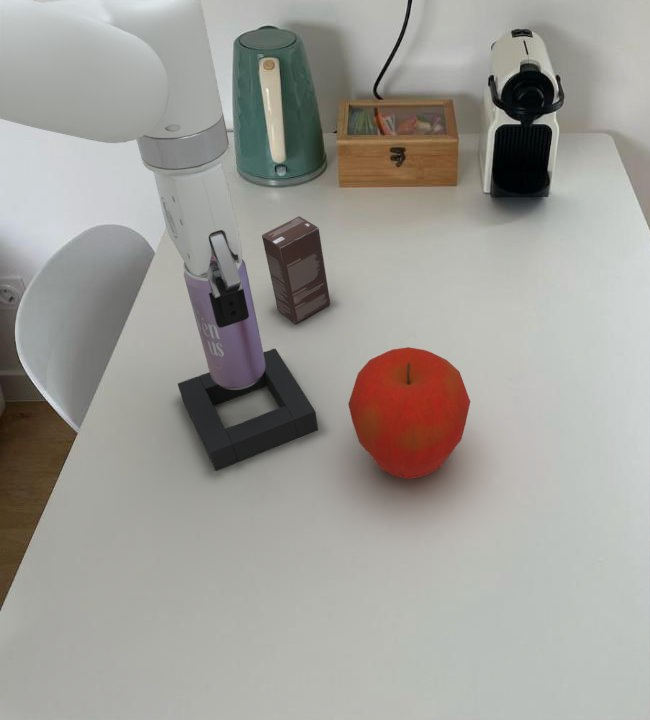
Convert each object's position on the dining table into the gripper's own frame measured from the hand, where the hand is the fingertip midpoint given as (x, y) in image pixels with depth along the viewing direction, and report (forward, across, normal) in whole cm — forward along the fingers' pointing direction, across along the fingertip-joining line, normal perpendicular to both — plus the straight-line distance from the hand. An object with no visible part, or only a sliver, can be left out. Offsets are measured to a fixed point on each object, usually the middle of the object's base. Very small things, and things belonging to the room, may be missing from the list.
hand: (221, 301), depth 81 cm
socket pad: (+17, 0, 0) cm, 17 cm away
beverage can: (+10, 0, 0) cm, 10 cm away
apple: (+17, +15, +13) cm, 26 cm away
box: (+17, -15, +13) cm, 26 cm away
